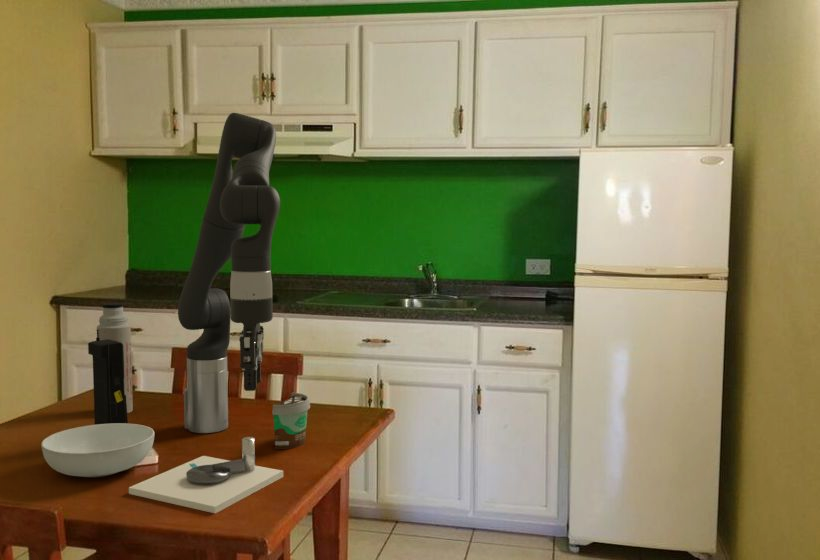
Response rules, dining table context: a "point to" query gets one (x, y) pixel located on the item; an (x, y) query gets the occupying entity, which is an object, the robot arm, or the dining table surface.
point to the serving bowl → (98, 449)
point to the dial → (224, 466)
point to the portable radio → (108, 381)
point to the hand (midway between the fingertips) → (252, 386)
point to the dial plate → (204, 486)
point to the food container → (291, 421)
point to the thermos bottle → (120, 331)
